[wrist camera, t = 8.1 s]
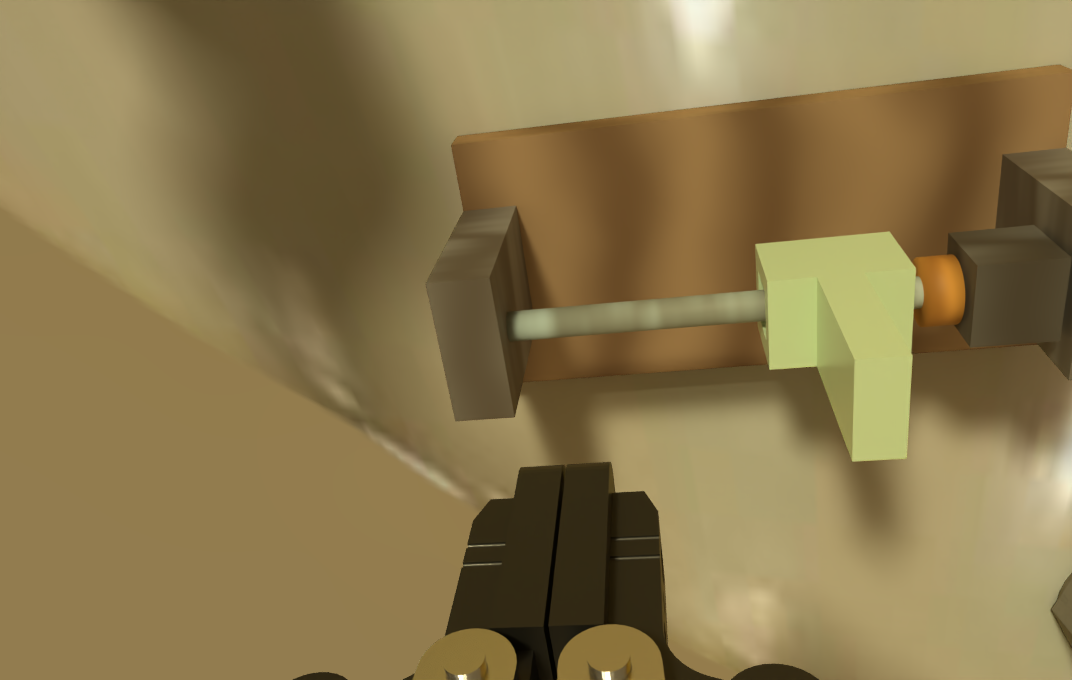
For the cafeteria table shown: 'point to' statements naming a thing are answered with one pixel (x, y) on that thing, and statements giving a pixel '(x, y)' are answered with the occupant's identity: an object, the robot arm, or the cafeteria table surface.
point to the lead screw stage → (752, 228)
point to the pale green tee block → (845, 330)
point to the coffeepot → (1065, 609)
